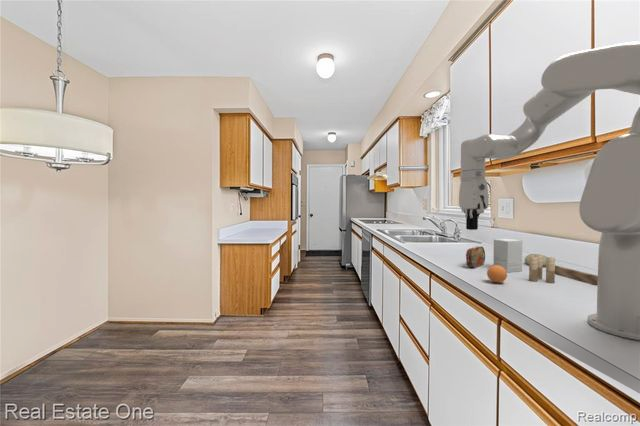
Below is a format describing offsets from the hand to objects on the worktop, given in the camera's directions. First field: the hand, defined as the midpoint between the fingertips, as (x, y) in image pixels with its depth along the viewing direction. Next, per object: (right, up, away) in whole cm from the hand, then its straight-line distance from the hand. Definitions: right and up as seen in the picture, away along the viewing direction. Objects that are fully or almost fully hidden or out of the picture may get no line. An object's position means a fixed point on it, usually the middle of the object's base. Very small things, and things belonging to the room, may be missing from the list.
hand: (471, 229), depth 101 cm
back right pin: (+28, -19, +1) cm, 34 cm away
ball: (+10, -16, +2) cm, 19 cm away
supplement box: (+25, -18, +20) cm, 36 cm away
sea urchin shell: (+43, -18, +28) cm, 54 cm away
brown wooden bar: (+40, -18, +5) cm, 44 cm away
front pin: (+24, -19, +3) cm, 30 cm away
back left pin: (+28, -18, +6) cm, 34 cm away
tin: (+16, -18, +27) cm, 36 cm away
